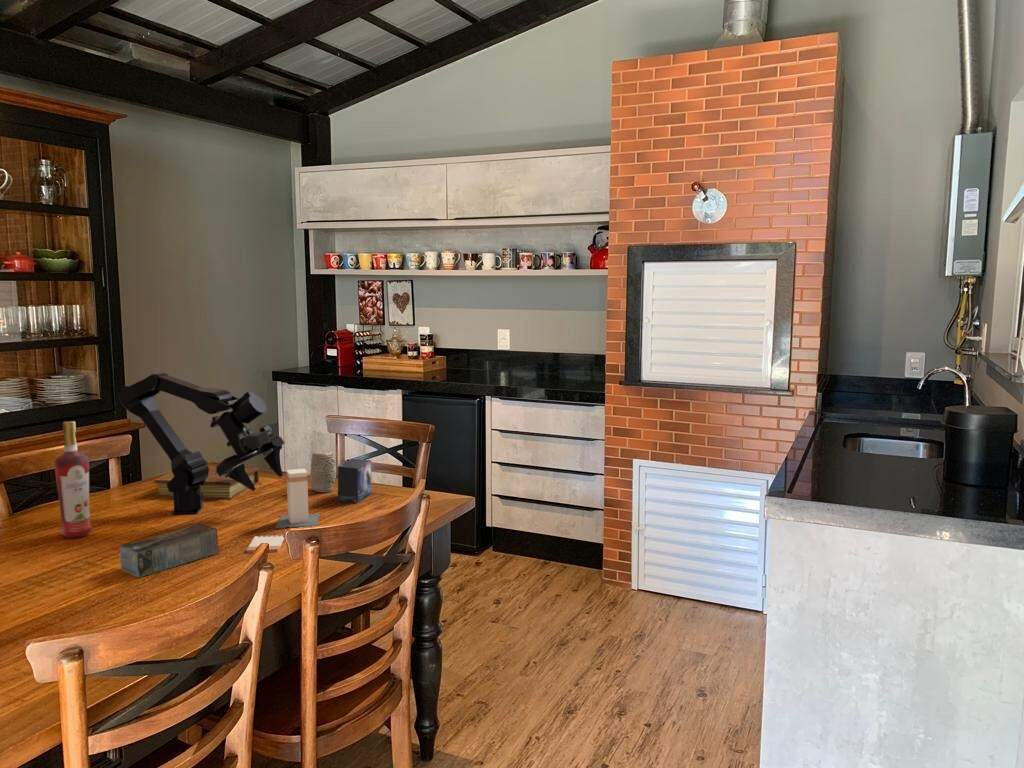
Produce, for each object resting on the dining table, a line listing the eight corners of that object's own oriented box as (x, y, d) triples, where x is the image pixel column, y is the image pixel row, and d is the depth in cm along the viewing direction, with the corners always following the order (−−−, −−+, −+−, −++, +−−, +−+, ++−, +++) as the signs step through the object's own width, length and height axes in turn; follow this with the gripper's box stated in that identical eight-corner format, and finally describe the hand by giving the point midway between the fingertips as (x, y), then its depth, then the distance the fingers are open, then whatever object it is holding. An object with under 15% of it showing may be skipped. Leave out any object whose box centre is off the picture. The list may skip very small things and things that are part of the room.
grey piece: (119, 571, 164) (117, 541, 163) (201, 547, 179) (200, 520, 178) (138, 580, 159) (136, 549, 158) (221, 554, 174) (219, 526, 173)
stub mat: (275, 528, 192) (275, 526, 192) (281, 516, 202) (281, 515, 202) (315, 527, 194) (315, 525, 194) (320, 515, 203) (320, 513, 203)
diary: (259, 485, 236) (258, 466, 236) (231, 501, 218) (230, 482, 217) (188, 482, 239) (187, 464, 238) (155, 498, 220) (154, 479, 219)
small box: (358, 504, 214) (357, 467, 213) (337, 502, 216) (336, 466, 214) (372, 494, 225) (372, 459, 223) (352, 492, 226) (351, 458, 225)
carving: (333, 493, 225) (332, 453, 223) (307, 493, 225) (306, 453, 223) (338, 488, 231) (337, 449, 229) (313, 487, 231) (312, 449, 229)
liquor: (88, 528, 191) (81, 418, 188) (97, 535, 186) (90, 422, 183) (55, 535, 186) (47, 422, 183) (64, 542, 181) (55, 426, 178)
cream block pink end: (277, 551, 176) (277, 548, 175) (246, 553, 175) (245, 550, 175) (284, 537, 185) (284, 534, 185) (254, 538, 184) (254, 535, 184)
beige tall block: (290, 523, 195) (288, 474, 193) (287, 518, 199) (286, 470, 197) (308, 521, 197) (307, 472, 195) (305, 516, 201) (304, 468, 199)
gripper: (221, 431, 187) (254, 485, 187) (278, 408, 203) (309, 457, 202) (201, 450, 194) (233, 502, 193) (258, 426, 209) (288, 474, 208)
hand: (268, 483), depth 199 cm, fingers open, 9 cm apart
